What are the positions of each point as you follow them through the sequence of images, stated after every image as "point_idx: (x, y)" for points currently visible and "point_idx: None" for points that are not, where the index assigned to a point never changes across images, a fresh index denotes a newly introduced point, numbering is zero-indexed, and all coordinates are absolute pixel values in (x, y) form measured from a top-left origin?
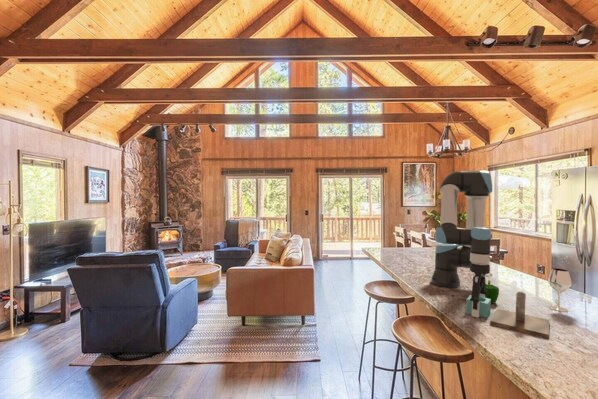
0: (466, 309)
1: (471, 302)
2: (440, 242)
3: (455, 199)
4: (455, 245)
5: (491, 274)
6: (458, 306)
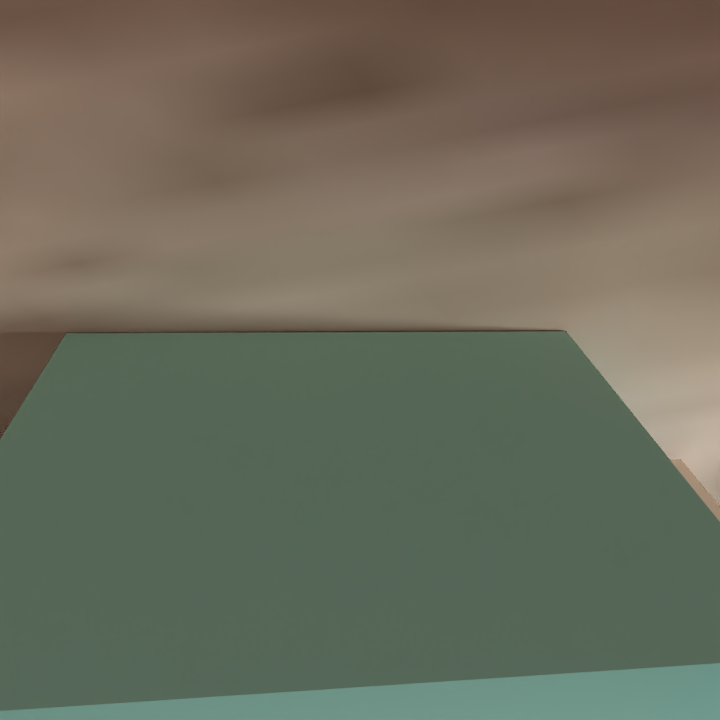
0: (31, 402)
1: None
2: None
3: None
4: None
5: None
6: (541, 32)
